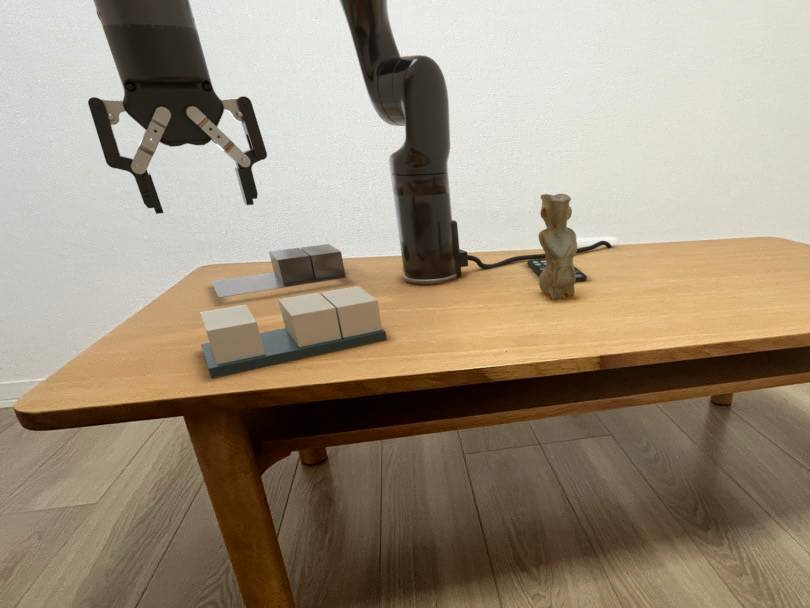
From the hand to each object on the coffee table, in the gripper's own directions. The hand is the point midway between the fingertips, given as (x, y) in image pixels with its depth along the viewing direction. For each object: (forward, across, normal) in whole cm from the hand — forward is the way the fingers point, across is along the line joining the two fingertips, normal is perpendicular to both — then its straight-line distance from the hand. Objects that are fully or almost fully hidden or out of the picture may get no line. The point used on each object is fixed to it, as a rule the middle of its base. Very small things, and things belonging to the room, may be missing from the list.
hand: (206, 208), depth 58 cm
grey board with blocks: (+17, +9, +30) cm, 36 cm away
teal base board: (+17, +5, -1) cm, 18 cm away
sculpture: (+18, +44, -3) cm, 48 cm away
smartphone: (+18, +52, +9) cm, 56 cm away
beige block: (+16, -1, -1) cm, 16 cm away
